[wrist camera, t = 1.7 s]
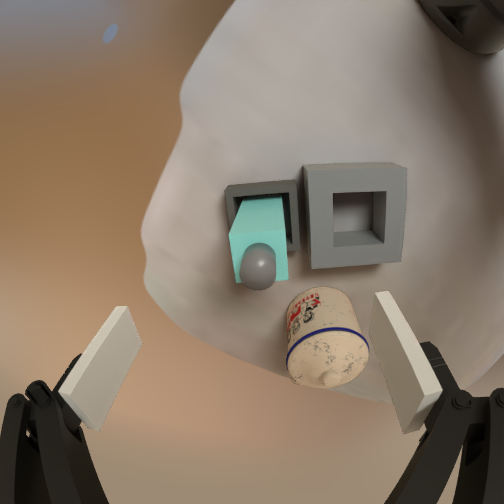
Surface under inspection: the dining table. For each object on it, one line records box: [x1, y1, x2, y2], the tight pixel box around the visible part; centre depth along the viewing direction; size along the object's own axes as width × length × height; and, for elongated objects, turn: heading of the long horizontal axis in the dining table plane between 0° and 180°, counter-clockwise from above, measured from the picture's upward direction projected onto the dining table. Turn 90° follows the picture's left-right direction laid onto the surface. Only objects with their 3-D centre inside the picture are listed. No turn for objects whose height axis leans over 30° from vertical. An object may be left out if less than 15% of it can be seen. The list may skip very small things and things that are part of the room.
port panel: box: [303, 163, 407, 269], centre depth 28 cm, size 10×10×4 cm
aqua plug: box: [229, 194, 289, 290], centre depth 25 cm, size 4×4×14 cm
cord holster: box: [224, 180, 300, 251], centre depth 30 cm, size 7×7×2 cm
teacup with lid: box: [286, 287, 369, 389], centre depth 31 cm, size 12×9×12 cm
